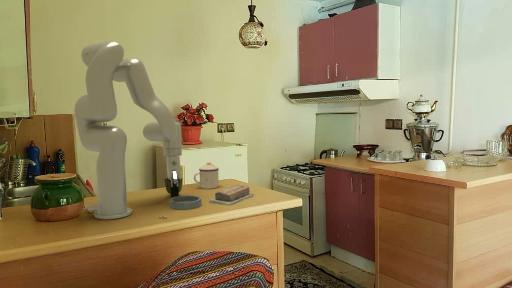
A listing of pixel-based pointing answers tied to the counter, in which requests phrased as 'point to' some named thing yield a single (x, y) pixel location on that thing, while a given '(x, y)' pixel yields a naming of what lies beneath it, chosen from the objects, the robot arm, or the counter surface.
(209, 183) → the teacup with lid
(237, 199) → the packaged product
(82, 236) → the counter surface
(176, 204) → the blue-grey plate
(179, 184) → the dark rounded textured piece
